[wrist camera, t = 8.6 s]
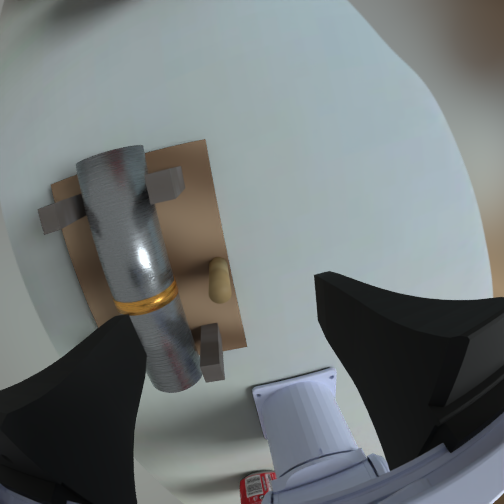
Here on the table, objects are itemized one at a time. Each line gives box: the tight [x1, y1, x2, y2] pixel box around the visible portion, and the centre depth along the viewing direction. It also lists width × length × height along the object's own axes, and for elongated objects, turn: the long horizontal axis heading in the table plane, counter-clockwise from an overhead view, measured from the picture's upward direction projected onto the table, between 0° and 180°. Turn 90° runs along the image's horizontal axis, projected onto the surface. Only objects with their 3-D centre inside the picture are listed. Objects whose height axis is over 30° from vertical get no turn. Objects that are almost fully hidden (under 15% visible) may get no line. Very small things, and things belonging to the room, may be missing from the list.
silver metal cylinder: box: [76, 145, 202, 393], centre depth 16 cm, size 15×4×4 cm, turn 9°
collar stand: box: [38, 139, 247, 382], centre depth 16 cm, size 15×11×6 cm
